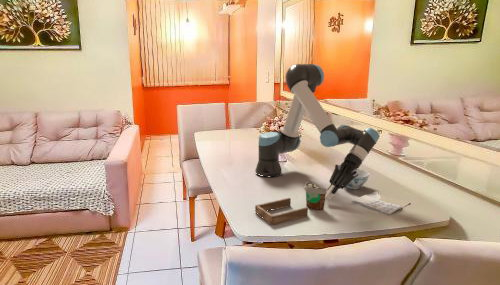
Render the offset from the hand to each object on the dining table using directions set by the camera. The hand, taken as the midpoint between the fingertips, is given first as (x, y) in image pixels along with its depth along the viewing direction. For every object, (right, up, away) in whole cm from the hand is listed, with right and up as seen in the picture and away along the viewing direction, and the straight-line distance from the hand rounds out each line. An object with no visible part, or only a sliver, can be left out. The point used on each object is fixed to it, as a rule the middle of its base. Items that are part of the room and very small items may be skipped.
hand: (326, 198), depth 154 cm
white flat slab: (+26, -3, +2) cm, 26 cm away
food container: (-7, -4, -2) cm, 8 cm away
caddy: (-21, -5, -10) cm, 24 cm away
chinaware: (+19, +2, +23) cm, 29 cm away
